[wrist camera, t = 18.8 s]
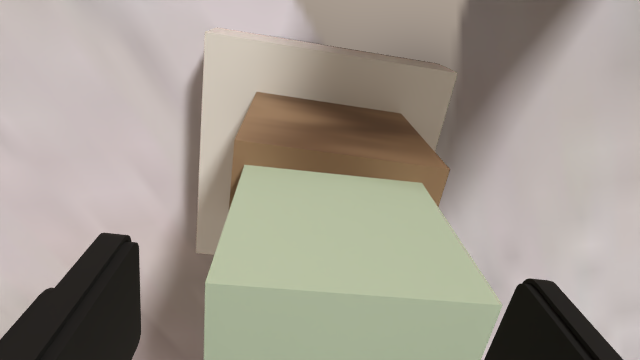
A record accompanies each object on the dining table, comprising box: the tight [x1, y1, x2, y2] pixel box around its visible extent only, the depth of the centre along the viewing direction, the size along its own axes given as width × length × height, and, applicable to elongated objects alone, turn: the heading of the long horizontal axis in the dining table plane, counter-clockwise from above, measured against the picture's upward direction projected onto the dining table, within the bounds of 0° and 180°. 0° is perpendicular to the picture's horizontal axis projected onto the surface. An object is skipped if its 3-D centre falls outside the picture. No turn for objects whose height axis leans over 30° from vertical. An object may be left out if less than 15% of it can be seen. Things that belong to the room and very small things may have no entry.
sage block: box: [204, 165, 502, 360], centre depth 10 cm, size 5×5×5 cm
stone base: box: [196, 27, 458, 255], centre depth 19 cm, size 10×10×2 cm
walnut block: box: [229, 92, 450, 210], centre depth 15 cm, size 6×6×6 cm
